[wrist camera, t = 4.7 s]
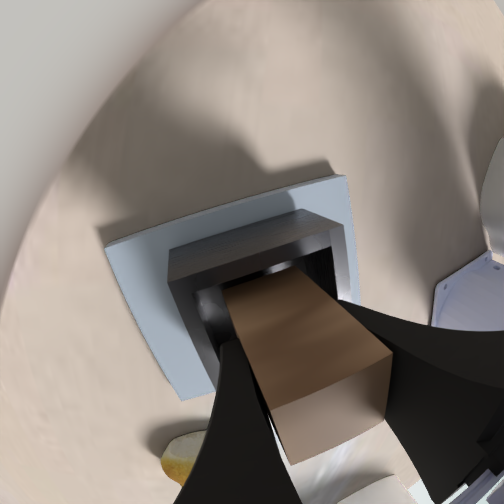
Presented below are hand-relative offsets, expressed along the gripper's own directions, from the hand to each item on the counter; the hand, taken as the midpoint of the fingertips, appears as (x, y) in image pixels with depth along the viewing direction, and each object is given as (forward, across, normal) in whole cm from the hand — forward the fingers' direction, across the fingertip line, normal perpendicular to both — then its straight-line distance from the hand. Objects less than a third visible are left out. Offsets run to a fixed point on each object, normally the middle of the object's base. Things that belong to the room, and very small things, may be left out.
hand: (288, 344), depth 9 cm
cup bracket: (+5, 0, +1) cm, 5 cm away
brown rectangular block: (+2, 0, 0) cm, 2 cm away
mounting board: (+6, 0, +1) cm, 6 cm away
